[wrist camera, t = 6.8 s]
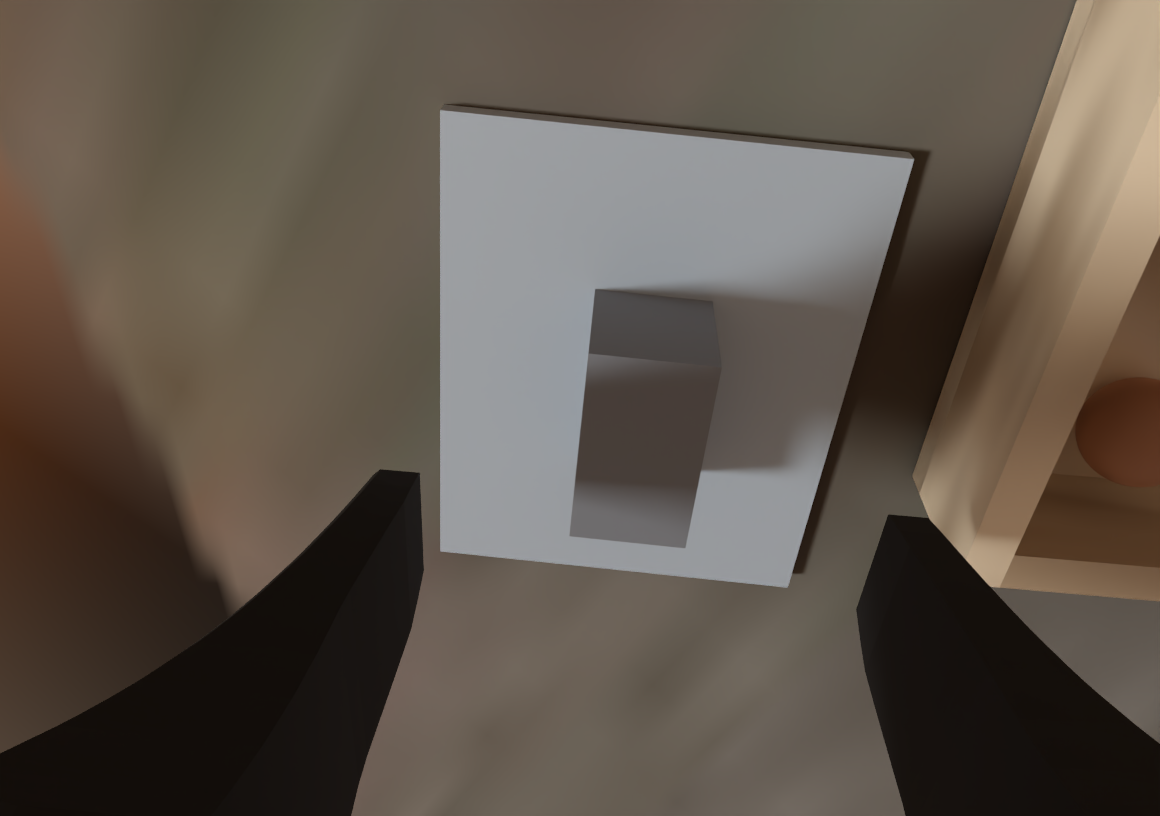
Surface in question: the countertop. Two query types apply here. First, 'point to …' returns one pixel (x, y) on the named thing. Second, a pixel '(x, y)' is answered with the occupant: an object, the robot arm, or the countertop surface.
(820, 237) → the lid
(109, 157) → the countertop surface
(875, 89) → the countertop surface
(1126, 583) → the box
